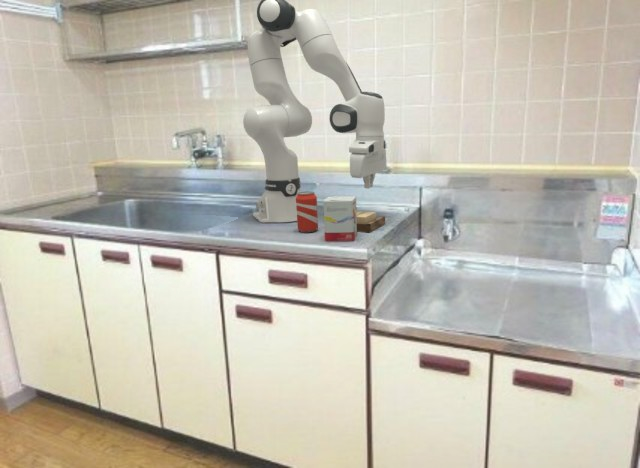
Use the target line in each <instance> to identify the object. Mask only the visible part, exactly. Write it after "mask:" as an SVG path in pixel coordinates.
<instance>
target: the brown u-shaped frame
mask: <svg viewBox="0 0 640 468" xmlns="http://www.w3.org/2000/svg"><path fill="white" fill-rule="evenodd" d="M384 224H385V225H386V216H383V215H382V216H379V217H378V218H377V217H376V219H375V220H373V221H371V222H369V223H357V233H368V234H369V233H372V232H374V231H375V229H376V230H377V229H379V228H380V227H383V226H384ZM382 225H383V226H382Z"/></svg>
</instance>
